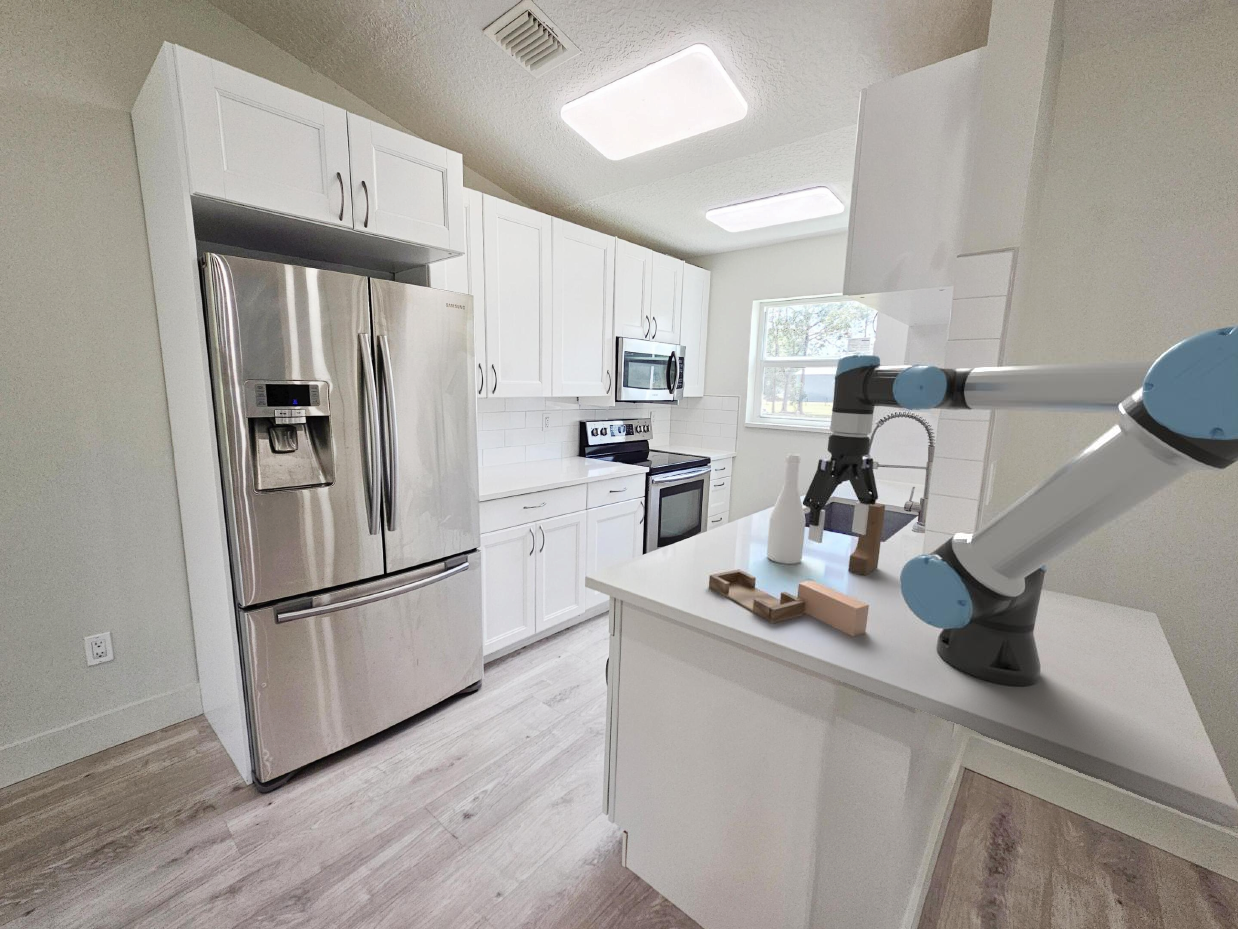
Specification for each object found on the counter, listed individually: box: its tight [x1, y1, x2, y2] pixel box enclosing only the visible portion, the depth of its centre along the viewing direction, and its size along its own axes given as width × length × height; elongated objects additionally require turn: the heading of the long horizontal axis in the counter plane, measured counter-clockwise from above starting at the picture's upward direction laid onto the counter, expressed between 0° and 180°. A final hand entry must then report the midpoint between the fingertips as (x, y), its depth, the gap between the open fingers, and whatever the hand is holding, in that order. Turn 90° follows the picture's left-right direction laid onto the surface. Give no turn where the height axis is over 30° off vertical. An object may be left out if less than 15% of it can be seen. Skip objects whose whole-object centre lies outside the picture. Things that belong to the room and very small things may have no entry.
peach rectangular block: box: [796, 579, 870, 637], centre depth 106 cm, size 14×4×6 cm, turn 30°
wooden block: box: [848, 502, 886, 576], centre depth 135 cm, size 9×4×18 cm, turn 133°
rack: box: [708, 568, 805, 624], centre depth 114 cm, size 20×9×3 cm, turn 29°
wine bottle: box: [766, 453, 807, 565], centre depth 140 cm, size 10×10×30 cm
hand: (837, 537), depth 103 cm, fingers open, 13 cm apart
